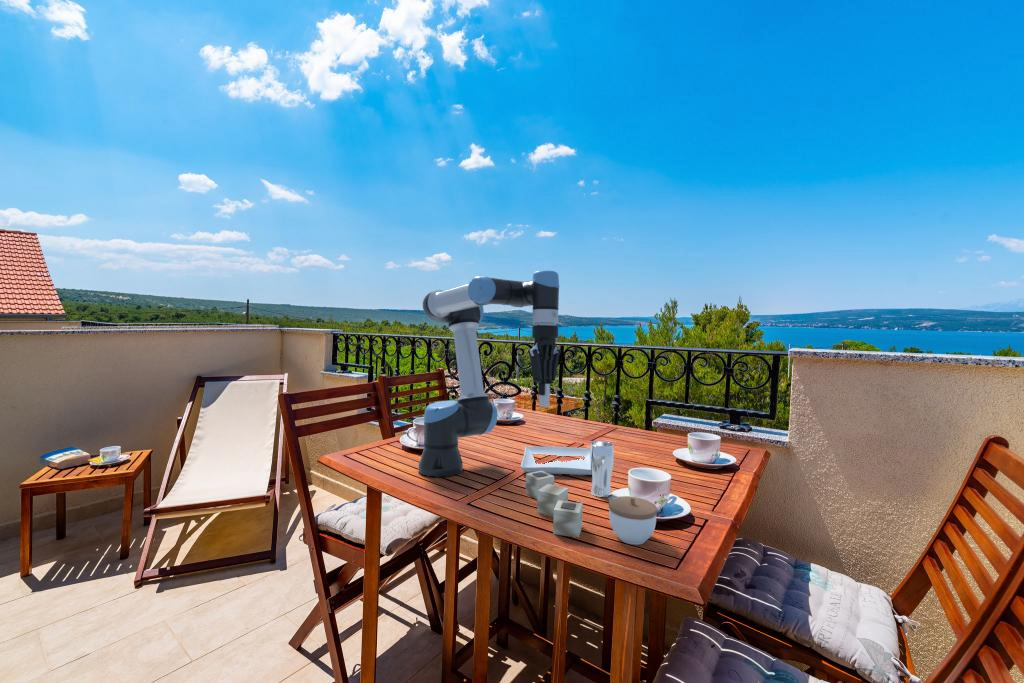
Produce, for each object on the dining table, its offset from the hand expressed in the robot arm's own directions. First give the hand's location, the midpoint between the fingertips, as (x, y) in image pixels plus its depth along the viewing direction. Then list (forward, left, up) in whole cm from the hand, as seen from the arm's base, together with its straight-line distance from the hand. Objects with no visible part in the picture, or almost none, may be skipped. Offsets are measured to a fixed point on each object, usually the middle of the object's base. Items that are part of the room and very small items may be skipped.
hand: (544, 406), depth 118 cm
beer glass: (+11, +14, -27) cm, 32 cm away
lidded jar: (+30, -5, -27) cm, 40 cm away
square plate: (-14, +28, -27) cm, 41 cm away
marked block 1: (-2, +1, -27) cm, 27 cm away
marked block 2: (+17, -12, -27) cm, 34 cm away
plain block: (+8, -6, -27) cm, 28 cm away
